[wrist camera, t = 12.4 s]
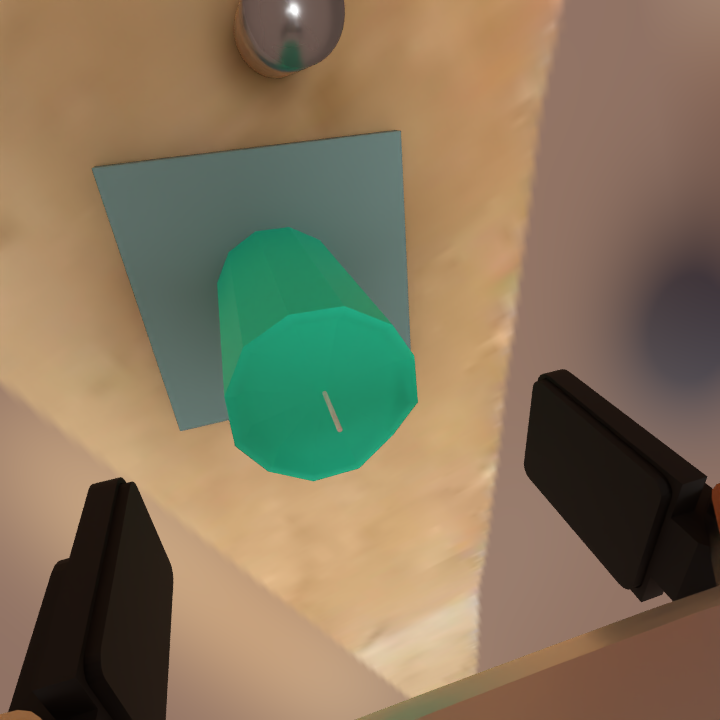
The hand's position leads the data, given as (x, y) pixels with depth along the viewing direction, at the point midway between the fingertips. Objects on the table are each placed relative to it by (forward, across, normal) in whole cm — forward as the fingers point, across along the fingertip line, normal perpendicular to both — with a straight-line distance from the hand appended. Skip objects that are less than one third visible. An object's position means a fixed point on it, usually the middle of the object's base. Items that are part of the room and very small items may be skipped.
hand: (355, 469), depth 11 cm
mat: (+15, 0, +1) cm, 15 cm away
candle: (+14, 0, +1) cm, 14 cm away
